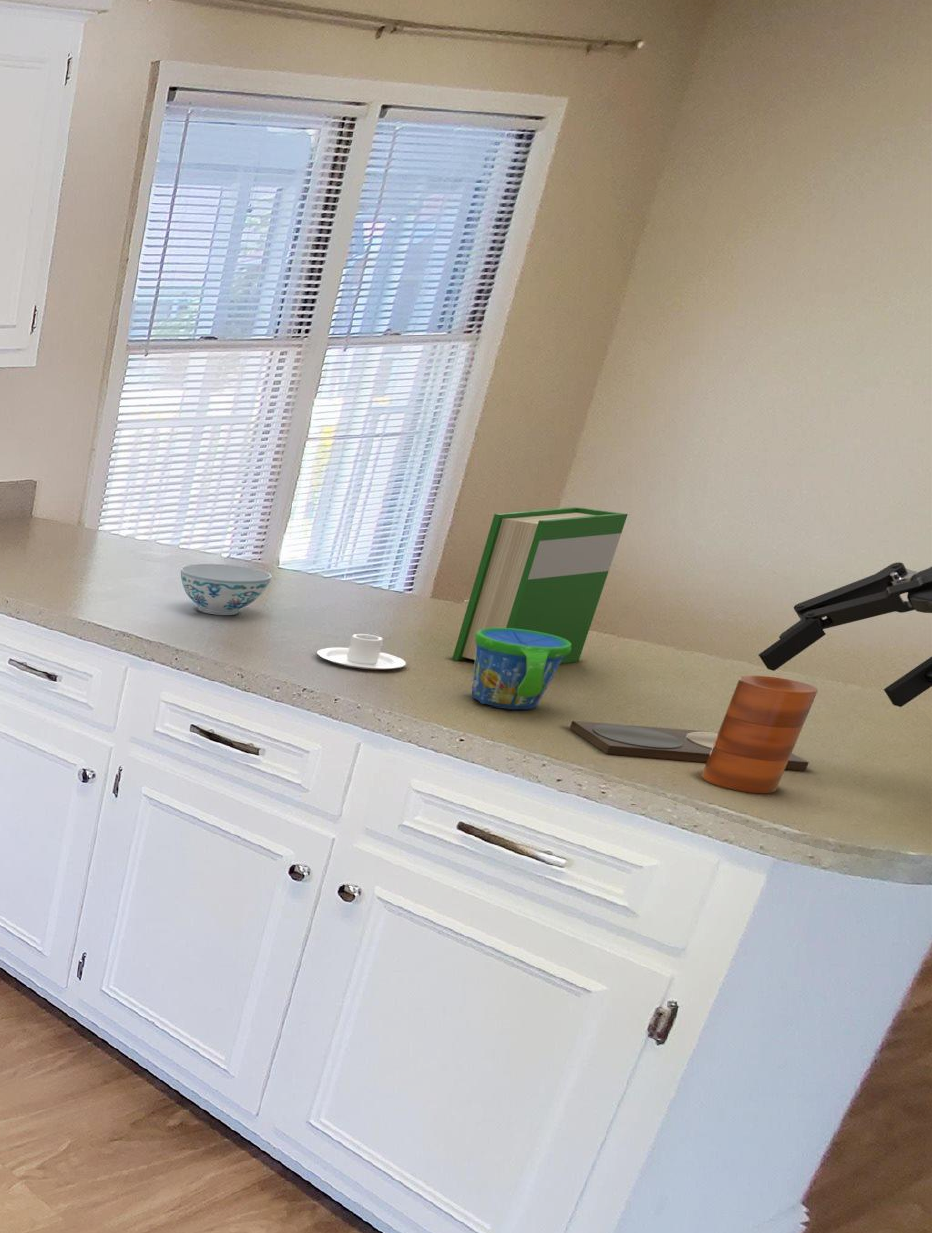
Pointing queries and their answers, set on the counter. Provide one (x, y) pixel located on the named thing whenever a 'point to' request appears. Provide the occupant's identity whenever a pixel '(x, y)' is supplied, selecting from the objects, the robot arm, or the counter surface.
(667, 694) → the counter surface
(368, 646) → the candle holder
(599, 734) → the board
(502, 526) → the hardback book
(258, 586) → the chinaware
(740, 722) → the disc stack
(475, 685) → the snack cup
